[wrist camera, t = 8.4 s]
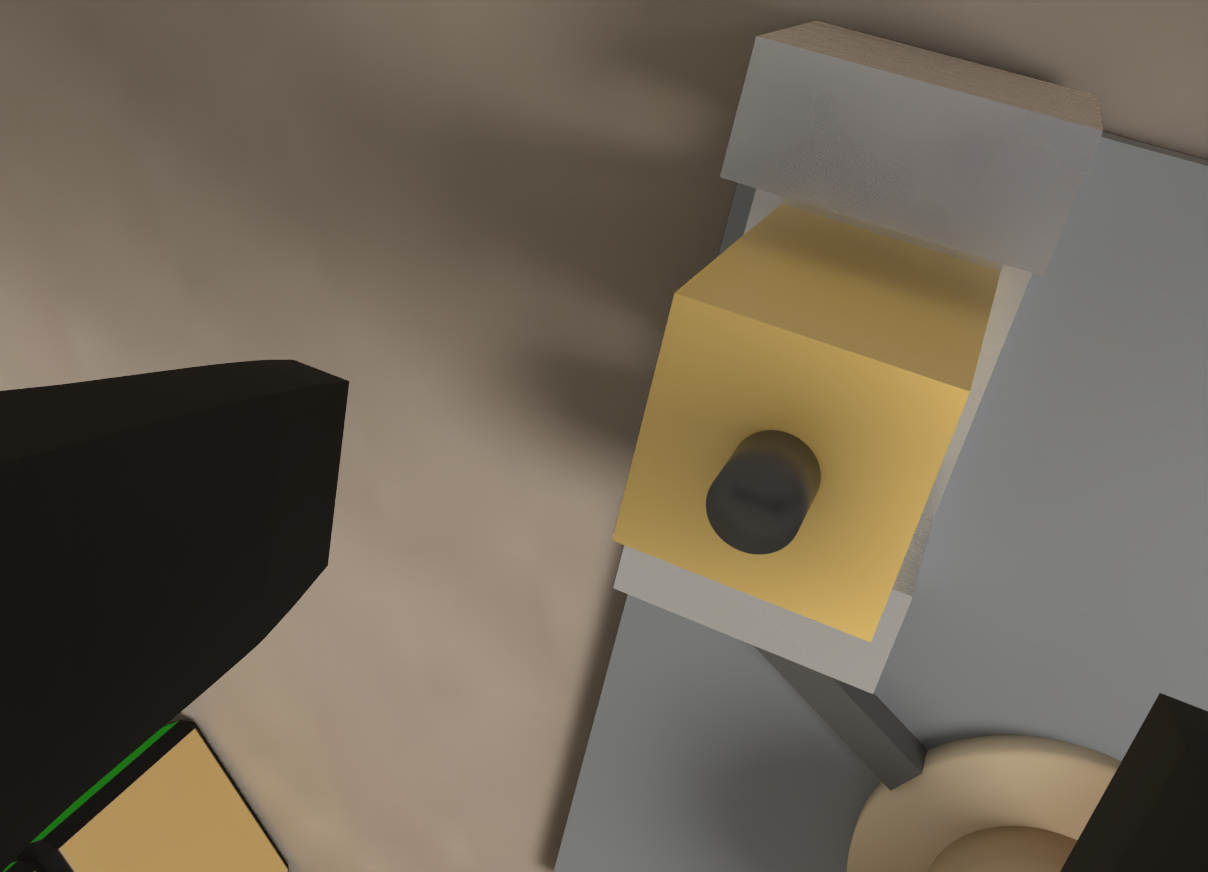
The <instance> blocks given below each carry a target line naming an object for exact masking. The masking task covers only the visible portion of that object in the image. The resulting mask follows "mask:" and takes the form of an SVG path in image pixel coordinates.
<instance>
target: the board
mask: <svg viewBox="0 0 1208 872" xmlns="http://www.w3.org/2000/svg"><path fill="white" fill-rule="evenodd" d="M755 191H756V188H753V187H750V186H747V185H743V184H740V183H737V187H736V190H735V194H734V198H733V202H732V205H731V209H730V213H729V217H728V220H727V224H726V228H725V232H724V235H723V239H722V243H721V247H720V250H719V254H718V256H719V255H720V254H722V253H723V252H724V251H725V250H726V249H728V248H729V247H730V246H731V245H732V244H734V243H735V242H736V241H737V240H738V239H739V238H741V237H742V236H743V235H744V231H745V228H746V224H747V220H748V217H749V213H750V210H751V206H752V202H753V199H754V195H755ZM1159 693H1162V694H1164V695H1167V696H1169V697H1172V698H1175V699H1177V700H1180V701H1182V702H1185V703H1188V704H1190V705H1193V706H1195V707H1198V708H1201V709H1203V710H1206V711H1208V160H1205V159H1201V158H1198V157H1194V156H1190V155H1187V154H1183V153H1179V152H1176V151H1172V150H1168V149H1165V148H1161V147H1157V146H1154V145H1150V144H1146V143H1143V142H1139V141H1135V140H1132V139H1128V138H1124V137H1121V136H1117V135H1113V134H1110V133H1106V132H1103V133H1102V135H1101V138H1100V140H1099V143H1098V145H1097V147H1096V150H1095V152H1094V155H1093V157H1092V160H1091V162H1090V165H1089V167H1088V169H1087V172H1086V174H1085V177H1084V179H1083V182H1082V184H1081V187H1080V189H1079V191H1078V194H1077V196H1076V199H1075V201H1074V204H1073V206H1072V209H1071V211H1070V214H1069V216H1068V218H1067V221H1066V223H1065V226H1064V228H1063V231H1062V233H1061V236H1060V238H1059V240H1058V243H1057V245H1056V248H1055V250H1054V253H1053V255H1052V258H1051V260H1050V262H1049V265H1048V267H1047V270H1046V272H1045V275H1044V276H1040V275H1037V274H1034V273H1032V275H1031V277H1030V280H1029V282H1028V285H1027V287H1026V290H1025V292H1024V295H1023V297H1022V300H1021V302H1020V305H1019V307H1018V310H1017V312H1016V315H1015V317H1014V320H1013V322H1012V325H1011V327H1010V329H1009V332H1008V334H1007V337H1006V339H1005V342H1004V344H1003V347H1002V349H1001V352H1000V354H999V357H998V359H997V362H996V364H995V367H994V369H993V372H992V374H991V377H990V379H989V382H988V384H987V387H986V389H985V391H984V394H983V396H982V399H981V401H980V404H979V406H978V409H977V411H976V414H975V416H974V419H973V421H972V424H971V426H970V429H969V431H968V434H967V436H966V439H965V441H964V444H963V446H962V449H961V451H960V453H959V456H958V458H957V461H956V463H955V466H954V468H953V471H952V473H951V476H950V478H949V481H948V483H947V486H946V488H945V491H944V493H943V496H942V498H941V501H940V503H939V506H938V508H937V511H936V513H935V515H934V518H933V522H932V526H931V530H930V534H929V537H928V541H927V545H926V549H925V553H924V556H923V560H922V564H921V568H920V571H919V575H918V579H917V583H916V587H915V590H914V594H913V598H912V600H911V603H910V605H909V607H908V610H907V612H906V615H905V617H904V620H903V622H902V625H901V627H900V629H899V632H898V634H897V637H896V639H895V642H894V644H893V647H892V649H891V651H890V654H889V656H888V659H887V661H886V664H885V666H884V669H883V671H882V674H881V676H880V678H879V681H878V683H877V686H876V688H875V691H874V693H873V694H871V693H869V692H866V691H864V690H862V689H859V688H857V687H854V686H852V685H849V684H847V683H844V682H842V681H839V680H837V679H835V678H832V677H830V676H827V675H825V674H822V673H820V672H817V671H815V670H812V669H810V668H808V667H805V666H803V665H800V664H798V663H795V662H793V661H790V660H788V659H785V658H783V657H781V656H778V655H776V654H773V653H771V652H768V651H766V650H763V649H761V648H758V647H756V646H754V645H751V644H749V643H746V642H744V641H741V640H739V639H736V638H734V637H732V636H729V635H727V634H724V633H722V632H719V631H717V630H714V629H712V628H709V627H707V626H705V625H702V624H700V623H697V622H695V621H692V620H690V619H687V618H685V617H682V616H680V615H678V614H675V613H673V612H670V611H668V610H665V609H663V608H660V607H658V606H655V605H653V604H651V603H648V602H646V601H643V600H641V599H638V598H636V597H633V596H631V595H627V598H626V602H625V606H624V610H623V613H622V617H621V621H620V625H619V628H618V632H617V636H616V640H615V643H614V647H613V651H612V655H611V658H610V662H609V666H608V670H607V673H606V677H605V681H604V684H603V688H602V692H601V696H600V699H599V703H598V707H597V711H596V714H595V718H594V722H593V726H592V729H591V733H590V737H589V741H588V744H587V748H586V752H585V756H584V759H583V763H582V767H581V771H580V774H579V778H578V782H577V786H576V789H575V793H574V797H573V801H572V804H571V808H570V812H569V816H568V819H567V823H566V827H565V830H564V834H563V838H562V842H561V845H560V849H559V853H558V857H557V860H556V864H555V868H554V872H847V862H848V855H849V849H850V845H851V841H852V838H853V834H854V830H855V827H856V824H857V820H858V817H859V814H860V812H861V810H862V808H863V806H864V804H865V802H866V800H867V799H868V797H869V795H870V794H871V793H872V792H873V790H874V789H875V788H876V786H877V785H878V784H879V783H880V782H881V781H882V782H883V783H884V784H885V785H886V787H887V788H888V789H889V790H890V791H891V790H893V789H895V788H897V787H899V786H900V785H902V784H904V783H906V782H908V781H909V780H911V779H913V778H915V777H917V776H918V775H920V774H922V770H923V765H924V760H925V755H926V750H928V749H930V748H933V747H936V746H939V745H942V744H946V743H949V742H952V741H957V740H962V739H967V738H972V737H979V736H992V735H1025V736H1034V737H1041V738H1049V739H1055V740H1059V741H1064V742H1068V743H1072V744H1076V745H1080V746H1083V747H1086V748H1089V749H1092V750H1095V751H1098V752H1101V753H1104V754H1106V755H1109V756H1111V757H1113V758H1115V759H1117V760H1119V761H1122V760H1123V758H1124V756H1125V754H1126V752H1127V751H1128V749H1129V747H1130V745H1131V744H1132V742H1133V740H1134V738H1135V736H1136V735H1137V733H1138V731H1139V729H1140V727H1141V726H1142V724H1143V722H1144V720H1145V718H1146V717H1147V715H1148V713H1149V711H1150V709H1151V708H1152V706H1153V704H1154V702H1155V700H1156V699H1157V697H1158V695H1159Z"/></svg>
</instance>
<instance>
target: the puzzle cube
mask: <svg viewBox="0 0 1208 872" xmlns="http://www.w3.org/2000/svg"><path fill="white" fill-rule="evenodd" d="M3 872H289V868H288V864H287V863H286V861H285V860H284V858H283V857H282V855H281V854H280V852H279V851H278V849H277V847H276V846H275V844H274V843H273V841H272V840H271V838H270V837H269V835H268V834H267V832H266V831H265V829H264V828H263V826H262V825H261V823H260V822H259V820H258V818H257V817H256V815H255V814H254V812H253V811H252V809H251V808H250V806H249V805H248V803H247V802H246V800H245V799H244V797H243V796H242V794H241V793H240V791H239V789H238V788H237V786H236V785H235V783H234V782H233V780H232V779H231V777H230V776H229V774H228V773H227V771H226V770H225V768H224V767H223V765H222V764H221V762H220V760H219V759H218V757H217V756H216V754H215V753H214V751H213V750H212V748H211V747H210V745H209V744H208V742H207V741H206V739H205V738H204V736H203V735H202V733H201V731H200V730H199V728H198V727H197V725H196V724H195V723H191V722H186V721H181V720H180V721H177V722H174V723H171V724H169V725H166V726H163V727H162V728H161V729H160V730H159V731H157V732H156V733H155V734H154V735H153V736H152V737H150V738H149V739H148V740H147V741H146V742H145V743H143V744H142V745H141V746H140V747H139V748H137V749H136V750H135V751H134V752H133V753H132V754H130V755H129V756H128V757H127V758H126V759H125V760H123V761H122V762H121V763H120V764H119V765H117V766H116V767H115V768H114V769H113V770H112V771H110V772H109V773H108V774H107V775H106V776H105V777H103V778H102V779H101V780H100V781H99V782H98V783H96V784H95V785H94V786H93V787H92V788H90V789H89V790H88V791H87V792H86V793H85V794H83V795H82V796H81V797H80V798H79V799H78V800H76V801H75V802H74V803H73V804H72V805H71V806H70V807H69V808H68V809H66V810H65V811H64V812H63V813H62V814H61V815H60V816H59V817H58V818H57V819H56V820H55V821H53V822H52V823H51V824H50V825H49V826H48V827H47V828H46V829H45V830H44V831H43V832H42V833H40V834H39V835H38V836H37V837H36V838H35V839H34V840H33V841H32V842H31V843H30V844H29V845H28V846H27V847H26V848H25V849H24V850H23V851H22V852H21V853H20V854H19V855H18V856H17V857H16V858H15V859H14V860H13V861H12V862H11V864H10V865H9V866H8V867H7V868H6V869H5V870H4V871H3Z"/></svg>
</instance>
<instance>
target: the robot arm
mask: <svg viewBox="0 0 1208 872" xmlns="http://www.w3.org/2000/svg"><path fill="white" fill-rule="evenodd" d="M348 387H349V381H347V380H344V379H342V378H339V377H337V376H334V375H331V374H329V373H326V372H324V371H321V370H318V369H316V368H313V367H311V366H308V365H305V364H303V363H300V362H298V361H295V360H259V361H246V362H235V363H225V364H216V365H208V366H200V367H191V368H184V369H176V370H168V371H161V372H153V373H146V374H138V375H131V376H123V377H116V378H108V379H100V380H93V381H85V382H78V383H70V384H62V385H54V386H45V387H35V388H25V389H16V390H6V391H0V872H3V871H4V870H5V869H6V868H7V867H8V866H9V865H10V864H11V862H12V861H13V860H14V859H15V858H16V857H17V856H18V855H19V854H20V853H21V852H22V851H23V850H24V849H25V848H26V847H27V846H28V845H29V844H30V843H31V842H32V841H33V840H34V839H35V838H36V837H37V836H38V835H39V834H40V833H42V832H43V831H44V830H45V829H46V828H47V827H48V826H49V825H50V824H51V823H52V822H53V821H55V820H56V819H57V818H58V817H59V816H60V815H61V814H62V813H63V812H64V811H65V810H66V809H68V808H69V807H70V806H71V805H72V804H73V803H74V802H75V801H76V800H78V799H79V798H80V797H81V796H82V795H83V794H85V793H86V792H87V791H88V790H89V789H90V788H92V787H93V786H94V785H95V784H96V783H98V782H99V781H100V780H101V779H102V778H103V777H105V776H106V775H107V774H108V773H109V772H110V771H112V770H113V769H114V768H115V767H116V766H117V765H119V764H120V763H121V762H122V761H123V760H125V759H126V758H127V757H128V756H129V755H130V754H132V753H133V752H134V751H135V750H136V749H137V748H139V747H140V746H141V745H142V744H143V743H145V742H146V741H147V740H148V739H149V738H150V737H152V736H153V735H154V734H155V733H156V732H157V731H159V730H160V729H161V728H162V727H163V726H165V725H166V724H167V723H168V722H169V721H170V720H172V719H173V718H174V717H175V716H176V715H177V714H179V713H180V712H181V711H182V710H183V709H185V708H186V707H187V706H188V705H189V704H190V703H192V702H193V701H194V700H195V699H196V698H197V697H199V696H200V695H201V694H202V693H203V692H204V691H206V690H207V689H208V688H209V687H210V686H211V685H212V684H214V683H215V682H216V681H217V680H218V679H219V678H221V677H222V676H223V675H224V674H225V673H226V672H227V671H229V670H230V669H231V668H232V667H233V666H234V665H235V664H237V663H238V662H239V661H240V660H241V659H242V658H243V657H245V656H246V655H247V654H248V653H249V652H250V651H251V650H252V649H254V648H255V647H256V646H257V645H258V644H259V643H260V642H261V641H262V640H263V639H264V638H265V637H266V636H267V635H268V634H269V633H270V631H271V630H272V629H273V628H274V627H275V626H276V625H277V624H278V623H279V622H280V620H281V619H282V618H283V617H284V616H285V615H286V614H287V613H288V612H289V611H290V609H291V608H292V607H293V606H294V605H295V604H296V602H297V601H298V600H299V599H300V598H301V597H302V595H303V594H304V593H305V592H306V591H307V589H308V588H309V587H310V586H311V585H312V583H313V582H314V581H315V580H316V579H317V578H318V576H319V575H320V574H321V573H322V572H323V570H324V569H325V568H326V567H327V566H328V558H329V549H330V541H331V532H332V524H333V515H334V507H335V498H336V490H337V481H338V472H339V464H340V455H341V447H342V438H343V430H344V421H345V412H346V404H347V395H348ZM1060 872H1208V711H1206V710H1203V709H1201V708H1198V707H1195V706H1193V705H1190V704H1188V703H1185V702H1182V701H1180V700H1177V699H1175V698H1172V697H1169V696H1167V695H1164V694H1162V693H1159V695H1158V697H1157V699H1156V700H1155V702H1154V704H1153V706H1152V708H1151V709H1150V711H1149V713H1148V715H1147V717H1146V718H1145V720H1144V722H1143V724H1142V726H1141V727H1140V729H1139V731H1138V733H1137V735H1136V736H1135V738H1134V740H1133V742H1132V744H1131V745H1130V747H1129V749H1128V751H1127V752H1126V754H1125V756H1124V758H1123V760H1122V761H1121V763H1120V765H1119V767H1118V769H1117V770H1116V772H1115V774H1114V776H1113V778H1112V779H1111V781H1110V783H1109V785H1108V787H1107V788H1106V790H1105V792H1104V794H1103V796H1102V797H1101V799H1100V801H1099V803H1098V804H1097V806H1096V808H1095V810H1094V812H1093V813H1092V815H1091V817H1090V819H1089V821H1088V822H1087V824H1086V826H1085V828H1084V830H1083V831H1082V833H1081V835H1080V837H1079V839H1078V840H1077V842H1076V844H1075V846H1074V848H1073V849H1072V851H1071V853H1070V855H1069V856H1068V858H1067V860H1066V862H1065V864H1064V865H1063V867H1062V869H1061V871H1060Z"/></svg>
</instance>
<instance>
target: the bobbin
mask: <svg viewBox="0 0 1208 872" xmlns="http://www.w3.org/2000/svg"><path fill="white" fill-rule="evenodd" d="M1120 763H1121V761H1119V760H1117V759H1115V758H1113V757H1111V756H1109V755H1106V754H1104V753H1101V752H1098V751H1095V750H1092V749H1089V748H1086V747H1083V746H1080V745H1076V744H1072V743H1068V742H1064V741H1059V740H1055V739H1049V738H1041V737H1034V736H1025V735H992V736H979V737H972V738H967V739H962V740H957V741H952V742H949V743H946V744H942V745H939V746H936V747H933V748H930V749H928V750H926V755H925V760H924V765H923V770H922V774H920V775H918V776H917V777H915V778H913V779H911V780H909V781H908V782H906V783H904V784H902V785H900V786H899V787H897V788H895V789H893V790H891V791H890V790H889V789H888V788H887V787H886V785H885V784H884V783H883V782H882V781H881V782H880V783H879V784H878V785H877V786H876V788H875V789H874V790H873V792H872V793H871V794H870V795H869V797H868V799H867V800H866V802H865V804H864V806H863V808H862V810H861V812H860V814H859V817H858V820H857V824H856V827H855V830H854V834H853V838H852V841H851V845H850V849H849V855H848V862H847V872H1060V871H1061V869H1062V867H1063V865H1064V864H1065V862H1066V860H1067V858H1068V856H1069V855H1070V853H1071V851H1072V849H1073V848H1074V846H1075V844H1076V842H1077V840H1078V839H1079V837H1080V835H1081V833H1082V831H1083V830H1084V828H1085V826H1086V824H1087V822H1088V821H1089V819H1090V817H1091V815H1092V813H1093V812H1094V810H1095V808H1096V806H1097V804H1098V803H1099V801H1100V799H1101V797H1102V796H1103V794H1104V792H1105V790H1106V788H1107V787H1108V785H1109V783H1110V781H1111V779H1112V778H1113V776H1114V774H1115V772H1116V770H1117V769H1118V767H1119V765H1120Z"/></svg>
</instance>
